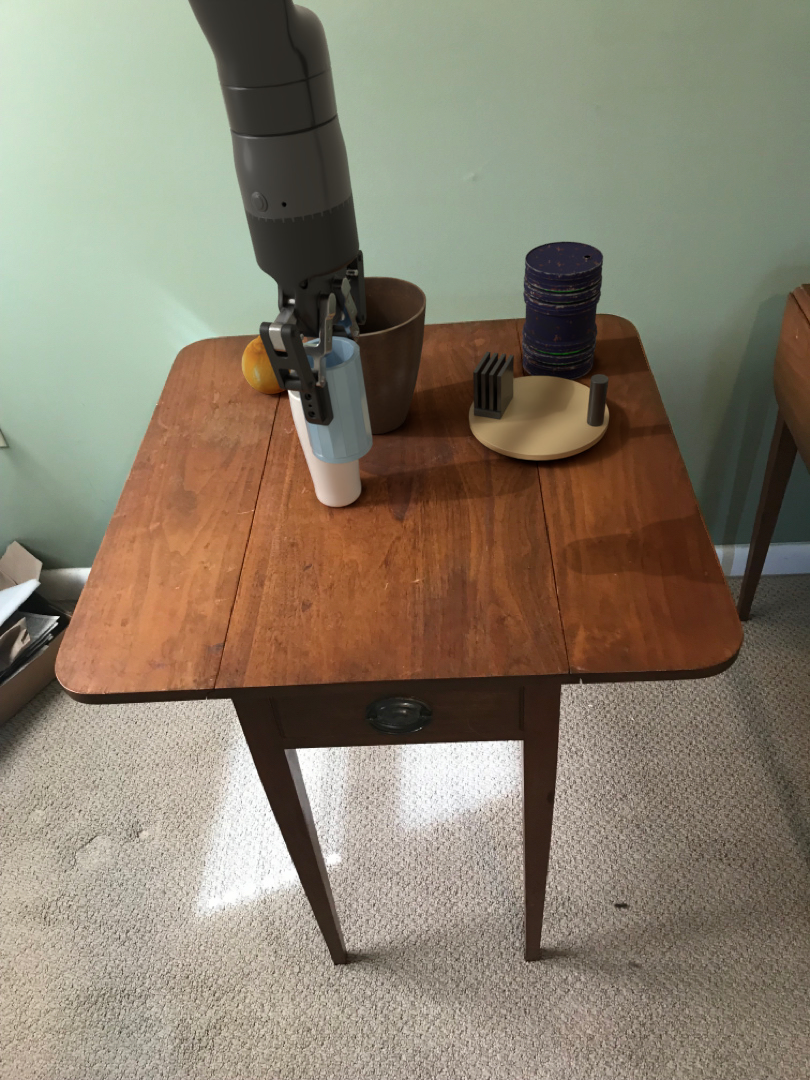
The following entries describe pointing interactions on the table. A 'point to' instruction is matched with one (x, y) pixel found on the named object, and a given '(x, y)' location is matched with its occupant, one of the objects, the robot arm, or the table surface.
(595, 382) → the round wooden platform
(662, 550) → the table surface
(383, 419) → the flower pot
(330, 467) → the drinking glass
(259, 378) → the fruit
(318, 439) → the cup
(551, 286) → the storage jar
